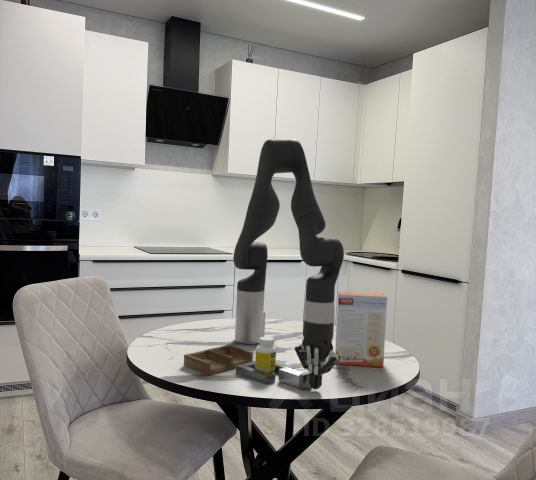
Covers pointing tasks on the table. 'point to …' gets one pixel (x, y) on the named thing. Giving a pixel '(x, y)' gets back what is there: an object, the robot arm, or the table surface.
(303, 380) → the silver rectangular block
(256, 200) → the robot arm
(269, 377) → the socket
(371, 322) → the cracker box
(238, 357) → the brown wooden divided tray
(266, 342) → the supplement bottle
